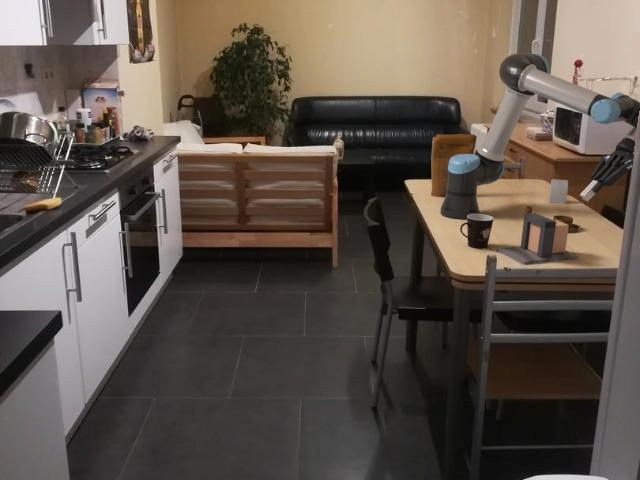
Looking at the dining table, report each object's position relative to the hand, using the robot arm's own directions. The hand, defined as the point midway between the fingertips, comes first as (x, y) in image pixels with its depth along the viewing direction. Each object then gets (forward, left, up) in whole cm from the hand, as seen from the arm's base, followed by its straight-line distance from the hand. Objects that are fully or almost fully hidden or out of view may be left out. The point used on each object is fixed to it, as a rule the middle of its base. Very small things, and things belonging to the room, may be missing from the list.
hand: (583, 198), depth 204 cm
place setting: (-2, +31, -19) cm, 36 cm away
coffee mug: (-33, -3, -18) cm, 38 cm away
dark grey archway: (-14, -8, -17) cm, 23 cm away
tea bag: (+5, +71, -18) cm, 73 cm away
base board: (-13, -8, -18) cm, 24 cm away
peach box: (-10, -6, -17) cm, 21 cm away
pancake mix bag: (-41, +69, -18) cm, 83 cm away
